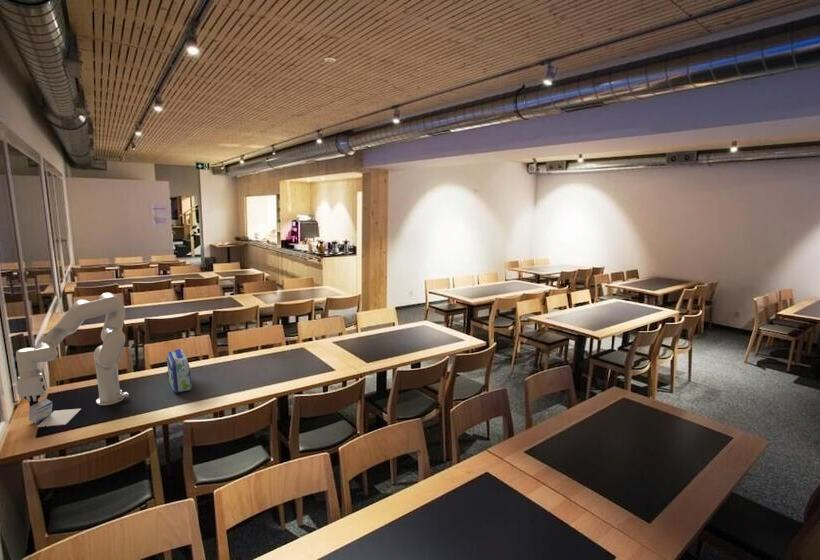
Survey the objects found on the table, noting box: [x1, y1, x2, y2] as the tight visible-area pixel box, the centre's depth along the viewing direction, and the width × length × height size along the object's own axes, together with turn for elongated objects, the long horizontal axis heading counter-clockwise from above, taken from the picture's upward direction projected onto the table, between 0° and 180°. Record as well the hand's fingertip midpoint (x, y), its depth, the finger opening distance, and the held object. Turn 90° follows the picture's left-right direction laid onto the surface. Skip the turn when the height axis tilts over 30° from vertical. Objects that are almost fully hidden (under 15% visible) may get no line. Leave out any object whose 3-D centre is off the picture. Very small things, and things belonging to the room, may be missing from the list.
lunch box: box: [166, 348, 193, 394], centre depth 253 cm, size 26×11×21 cm, turn 35°
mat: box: [36, 408, 82, 428], centre depth 217 cm, size 12×16×1 cm
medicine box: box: [28, 398, 53, 424], centre depth 213 cm, size 8×4×9 cm, turn 169°
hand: (34, 407), depth 213 cm, fingers closed
